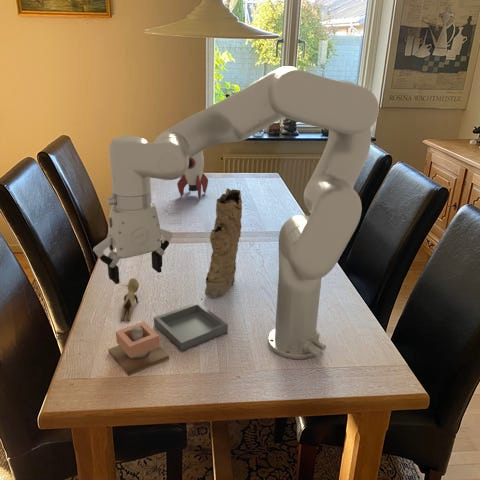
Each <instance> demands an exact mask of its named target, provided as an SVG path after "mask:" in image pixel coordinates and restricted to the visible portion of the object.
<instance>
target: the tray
mask: <svg viewBox="0 0 480 480" xmlns="http://www.w3.org/2000/svg"><path fill="white" fill-rule="evenodd" d="M153 325H154V328H155V329H156V330H157V331H159V333H161V334H162V335H163V336H164V337H165V338H166V339H167V340H168V341H169V342H170V343H171V344H172V345H173V344H174V345H175V346H176V347H177V348H176V347H175V346H174V345H173V346H174V347H175V348H176V349H177V350H179V351H180V352H181V353H184V352H187V351H188V349H189V350H191V349H194V348H196V347H198V345H199V346H200V345H203V343H204V344H206V343H208V342H211V341H213V340H216V339H218V338H220V336H221V337H223V336H225V335H227V334H228V333H229V332H228V329H229V323H227V322H225V321H224V320H222V318H220V317H219V316H217V315H216V314H215V313H213V312H212V311H211V310H210V309H208V308H207V307H205V306H204V305H203V304H202V303H200V302H199V301H197V302H194V303H191V304H189V305H186V306H183V307H181V308H180V307H179V308H177V309H174V310H171V311H169V312H166V313H163V314H160V315H157V316H154V317H153ZM222 335H223V336H222ZM215 338H216V339H215ZM210 340H211V341H210ZM193 347H194V348H193ZM190 348H191V349H190Z"/></svg>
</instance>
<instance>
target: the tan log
mask: <svg viewBox="0 0 480 480" xmlns="http://www.w3.org/2000/svg"><path fill="white" fill-rule="evenodd" d="M241 194H242V193H241V190H240V189H234V188H233V189H229V188H226V190H225V193H222V194H221V195H220V197H219V198H217V199H216V202H215V203H216V204H215V214H216V215H215V216H216V218H215V220H214V228H213V229H211V231H210V235H209V242H210V244H211V249H212V253H211V256H210V263H209V269H208V272H207V274H206V278H205V285H206V286H205V289H204V295H205V296H207V297H210V298H212V299H218V298H221V297H223V296H225V294H226V293H228V291H229V289H230V287H231V286H233V285H234V283H235V281H236V280H235V275H236V271H237V270H236V269H237V267H236V266H237V262H236V260H237V254H238V253H237V252H238V247H239V241H240V238H241V233H242V232H241V230H242V216H243V214H242V213H243V211H242V210H243V200H242V195H241Z"/></svg>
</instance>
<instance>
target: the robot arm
mask: <svg viewBox="0 0 480 480" xmlns="http://www.w3.org/2000/svg"><path fill="white" fill-rule="evenodd" d="M379 113H380V106H379V100H378V98H377V97H376V95H375V94H374V93H373V92H372V91H371V90H369V88H366V87H364V86H362V85H358V84H357V83H354V82H352V81H348V80H337V79H331V78H327V77H324V76H321V75H318V74H315V73H311V72H309V71H305V70H303V69H301V68H298V67H296V66H290V65H287V66H281V67H279V68H277V69H275V70H273V71H271V72H269V73H267V74H266V75H264V76H263V77H260V78H259V79H257V80H256V81H254V82H252V83H250V84H249V85H247V86H246V87H245V86H244V87H243V88H242V89H239V90H238V91H237V92H234V93H233V94H231V95H228V97H226V98H224V99H223V100H220V101H218V102H216V103H214V104H212V105H210V106H208V107H207V108H204V109H202V110H201V111H198V112H196V113H193V114H192V115H190V116H188V117H187V118H185V119H183V120H181V121H180V122H178V123H176V124H175V125H173V126H171V127H169V128H168V129H166V130H163V131H162V132H161V133H159V134H158V136H156V138H155V139H154V140H153V142H148V141H147V140H146V139H145V138H143V137H141V136H132V135H131V136H129V135H128V136H127V135H126V136H118V137H115V138H113V139H112V140H111V141H110V142H109V149H108V150H109V163H110V175H111V191H112V192H111V196H110V197H109V198H106V199H105V201H106V205H107V206H110V205H111V207H110V210H109V217H108V226H107V228H108V229H107V231H108V233H107V234H108V235H107V237H106V238H104V239H103V240H102V241H101V242H99V243H98V244H97V245H95V246H94V247H93V249H92V251H93V253H94V254H95V255H96V256H97V258H98V259H99V260H100V261H101V262H102V263H104V264H106V265H107V274H108V279H109V280H110V281H112V282H113V283H114V284H115V285H119V284H120V283H121V282H120V270H119V266H118V265H117V264H118V263H119V261H120V259H128V258H133V257H136V256H140V255H145V254H149V253H151V268H152V269H153V270H154V271H155V272H156V273H162V267H163V255H164V254H165V250H166V249H167V248H168V247H169V246H170V242H171V240H172V237H173V234H174V233H173V232H172V231H170V230H168V229H165V228H162V227H161V226H160V225H161V224H160V220H159V219H160V218H159V214H158V210H157V206H156V204H155V203H154V202H152V187H151V186H152V185H151V183H152V182H151V181H152V180H151V178H152V179H158V180H163V181H174V180H177V179H180V178H181V177H182V176H183V175H184V174H185V172H186V171H187V169H188V166H189V158H191V157H192V156H194V155H196V154H198V153H199V152H201V151H203V152H204V151H205V150H207V149H208V148H212V147H213V146H216V145H219V144H223V143H240V142H242V141H245V140H247V139H249V138H250V137H252V136H254V135H256V134H257V133H259V132H261V131H263V130H265V129H266V128H267V127H269V126H272V125H273V124H275V123H276V122H279V121H281V120H283V119H284V118H286V119H288V120H292V121H294V122H296V123H300V124H304V125H308V126H311V127H316V128H321V129H323V130H324V129H325V130H328V137H327V141H326V146H325V147H324V150H323V153H322V155H321V157H320V159H319V162H318V163H317V164H316V167H315V169H314V171H313V173H312V175H311V177H310V179H309V181H308V182H307V184H306V187H305V188H304V192H303V202H304V204H305V206H306V209H307V210H308V212H309V213H310V214H309V215H306V214H298V215H297V214H296V215H294V216H291V217H289V218H288V219H287V220H286V221H285V222H284V223H283V224H282V226H281V228H280V230H279V233H278V279H277V297H276V312H275V328H273V329H272V330H271V331H270V332H269V334H268V338H267V344H268V346H269V348H270V349H271V350H272V351H273V352H275V353H276V354H277V355H279V356H281V357H285V358H287V359H293V360H296V359H297V360H303V359H308V358H311V357H315V358H317V359H321V358H322V357H323V354H324V351H325V350H326V349H327V345H326V344H324V343H323V342H322V338H321V336H320V332H318V331H317V327H318V326H317V324H318V314H319V306H320V295H321V289H322V279H323V278H324V277H325V276H327V275H328V274H329V273H331V271H332V270H333V269H334V268H335V266H336V265H337V263H338V262H339V260H340V257H341V256H342V254H343V252H344V251H345V249H346V248H347V246H348V243H349V242H350V240H351V238H352V236H353V235H354V232H355V231H356V229H357V227H358V225H359V223H360V219H361V216H362V211H363V210H362V209H363V206H362V200H361V198H360V195H359V194H358V192H357V191H356V190H355V189H354V187H355V184H356V183H357V180H358V179H359V176H360V174H361V172H362V170H363V167H364V165H365V164H366V161H367V160H368V159H367V158H368V156H369V152H370V149H371V144H372V130H371V128H372V126H373V125H374V124H375V123H376V122H377V119H378V117H379ZM107 248H108V249H109V253H108V254H107V255H106V254H105V253H104V252H105V250H106V249H107Z"/></svg>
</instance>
